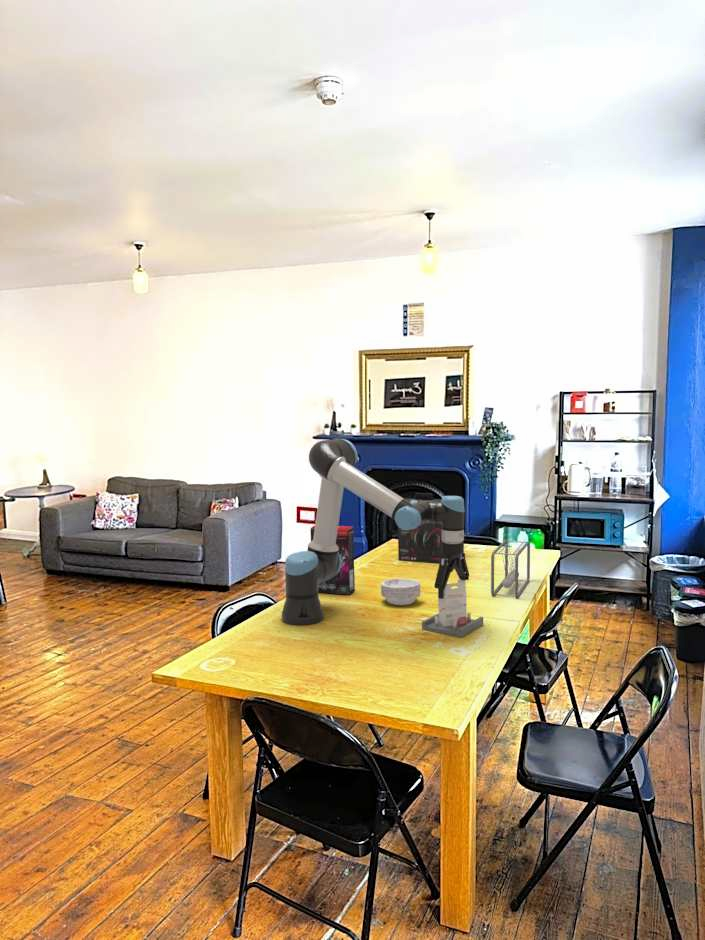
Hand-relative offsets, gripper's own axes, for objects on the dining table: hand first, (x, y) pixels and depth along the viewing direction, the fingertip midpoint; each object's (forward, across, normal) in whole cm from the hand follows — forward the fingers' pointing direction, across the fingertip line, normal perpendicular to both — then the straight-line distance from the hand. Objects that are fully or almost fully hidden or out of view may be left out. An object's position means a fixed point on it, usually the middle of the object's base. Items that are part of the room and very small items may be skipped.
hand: (452, 602), depth 237 cm
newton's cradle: (+9, +57, +4) cm, 58 cm away
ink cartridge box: (+7, 0, 0) cm, 7 cm away
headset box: (+9, +83, +61) cm, 103 cm away
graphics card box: (+9, +12, +62) cm, 63 cm away
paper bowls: (+9, +15, +31) cm, 35 cm away
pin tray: (+8, 0, 0) cm, 8 cm away
